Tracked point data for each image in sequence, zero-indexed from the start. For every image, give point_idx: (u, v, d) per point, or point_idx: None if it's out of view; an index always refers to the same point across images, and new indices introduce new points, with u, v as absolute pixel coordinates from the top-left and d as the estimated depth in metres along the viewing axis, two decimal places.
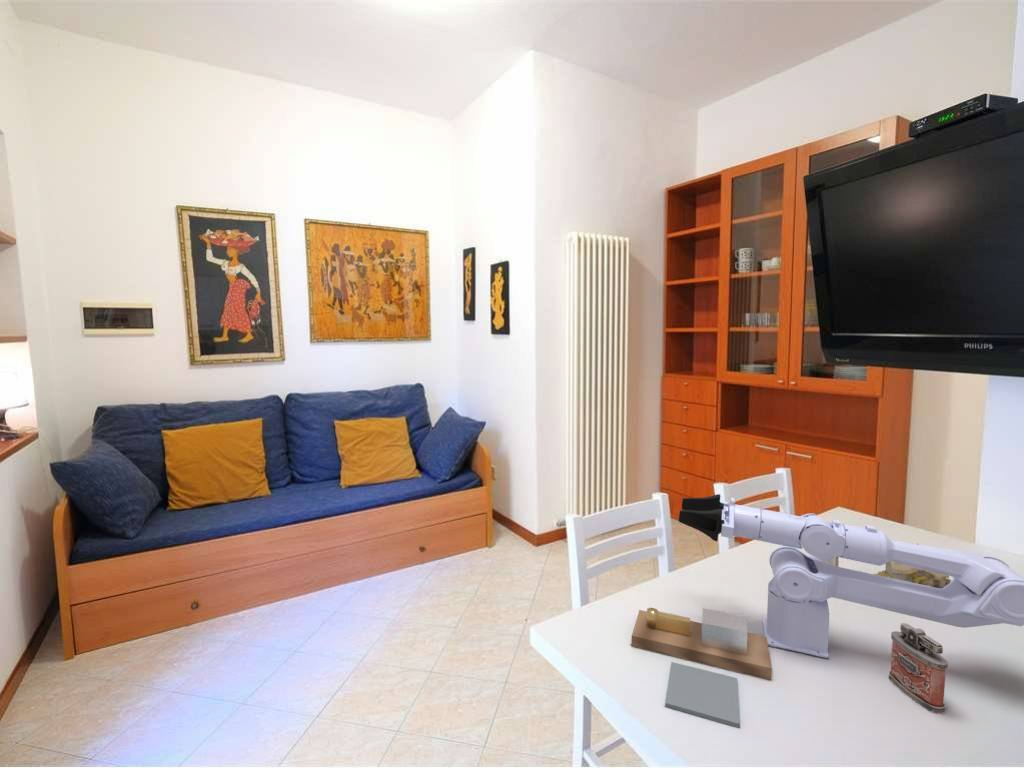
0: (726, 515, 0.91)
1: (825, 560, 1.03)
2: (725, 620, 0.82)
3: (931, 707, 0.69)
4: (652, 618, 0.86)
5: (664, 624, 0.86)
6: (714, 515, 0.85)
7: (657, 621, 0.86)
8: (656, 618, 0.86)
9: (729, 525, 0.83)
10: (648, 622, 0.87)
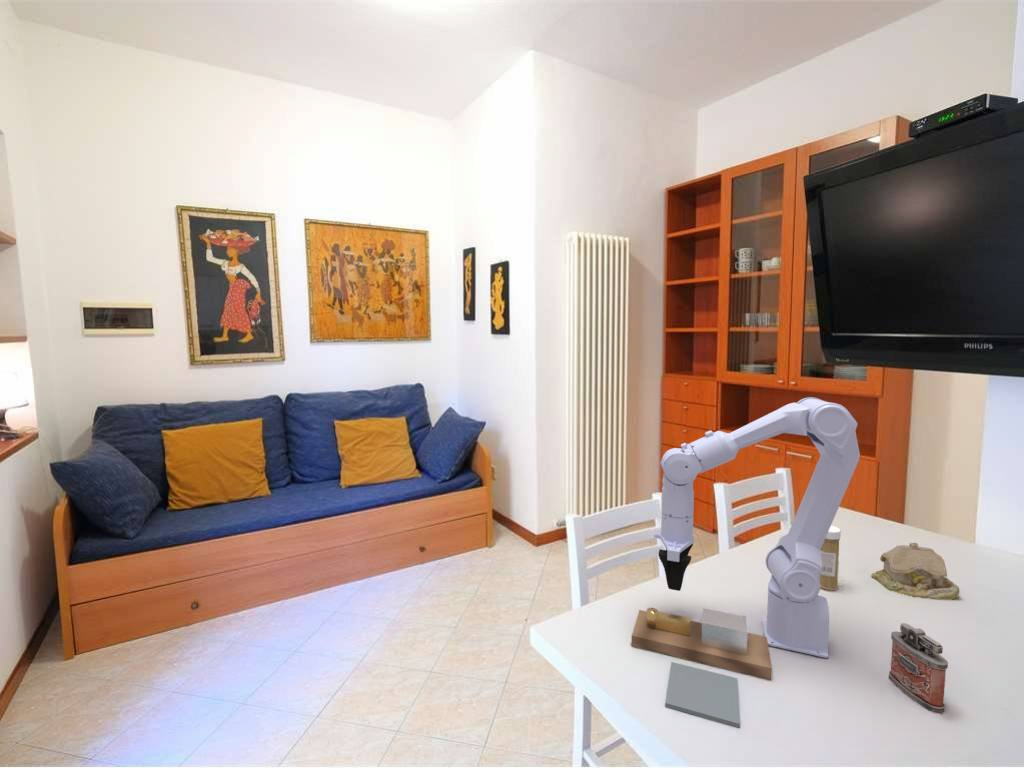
0: None
1: (825, 560, 1.03)
2: (725, 620, 0.82)
3: (931, 707, 0.69)
4: (652, 618, 0.86)
5: (664, 624, 0.86)
6: (662, 560, 0.87)
7: (657, 621, 0.86)
8: (656, 618, 0.86)
9: None
10: (648, 622, 0.87)
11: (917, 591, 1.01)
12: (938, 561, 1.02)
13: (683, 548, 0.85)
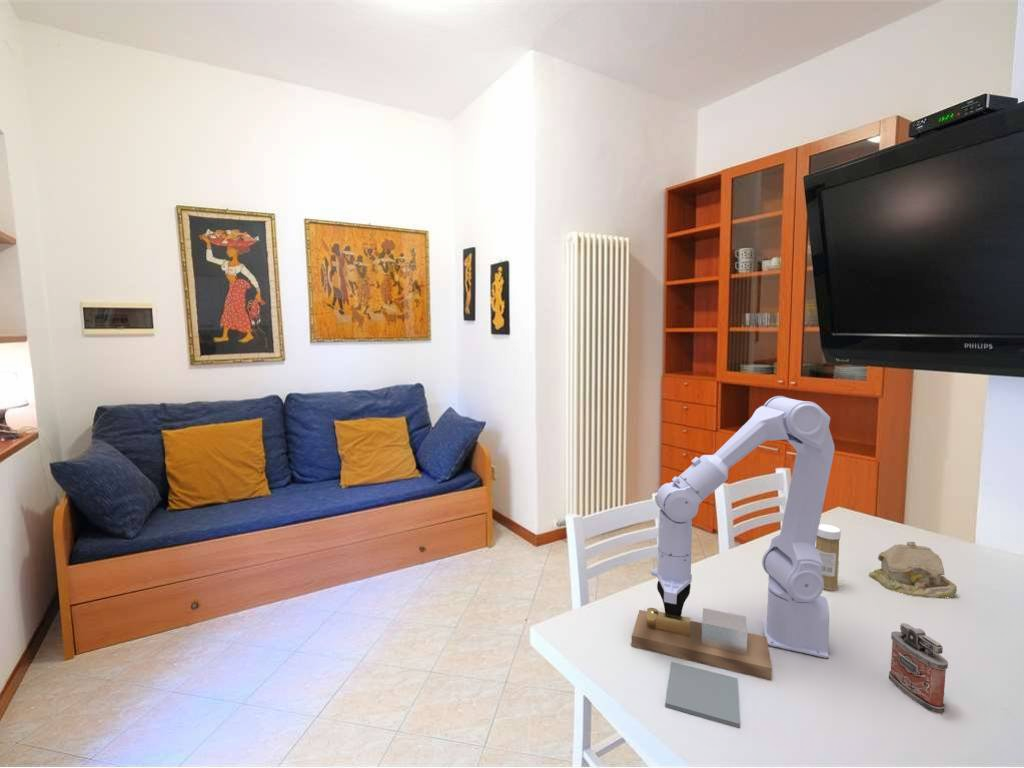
0: None
1: (825, 560, 1.03)
2: (725, 620, 0.82)
3: (931, 707, 0.69)
4: (652, 618, 0.86)
5: (664, 624, 0.86)
6: (661, 593, 0.86)
7: (657, 621, 0.86)
8: (656, 618, 0.86)
9: (664, 593, 0.81)
10: (648, 622, 0.87)
11: (915, 590, 1.01)
12: (935, 560, 1.02)
13: (680, 589, 0.82)
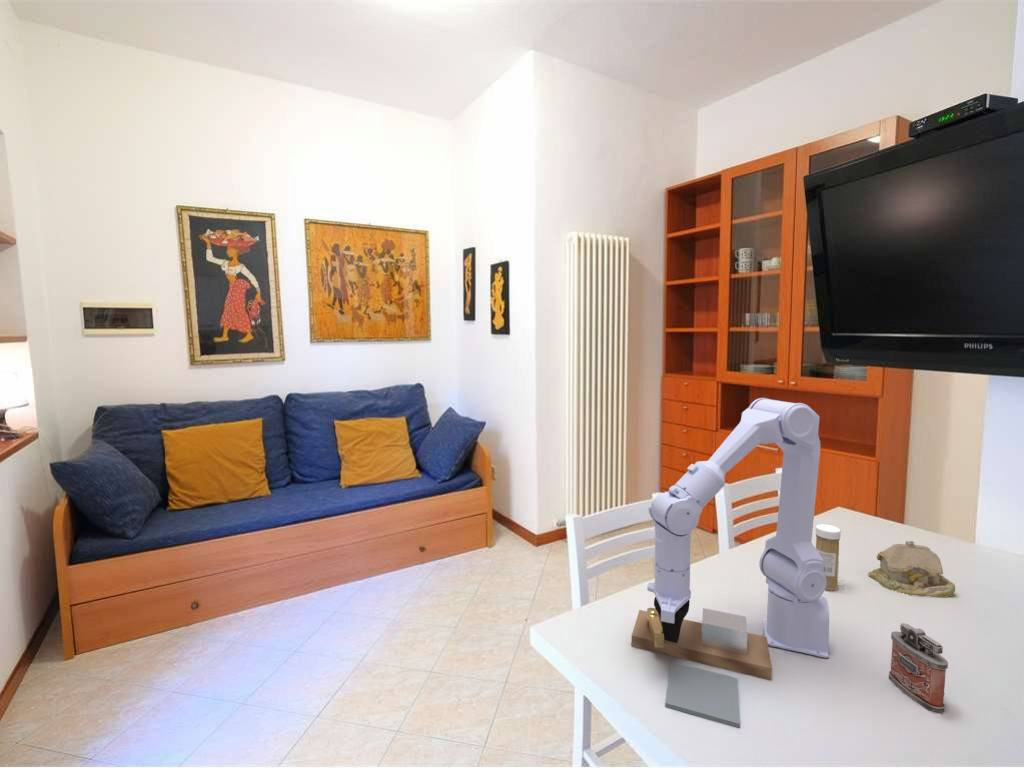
0: None
1: (825, 560, 1.03)
2: (725, 620, 0.82)
3: (931, 707, 0.69)
4: (647, 615, 0.87)
5: (650, 626, 0.85)
6: (658, 610, 0.81)
7: (649, 620, 0.86)
8: (649, 617, 0.86)
9: (661, 611, 0.76)
10: None
11: (914, 589, 1.02)
12: (934, 559, 1.03)
13: (679, 606, 0.76)
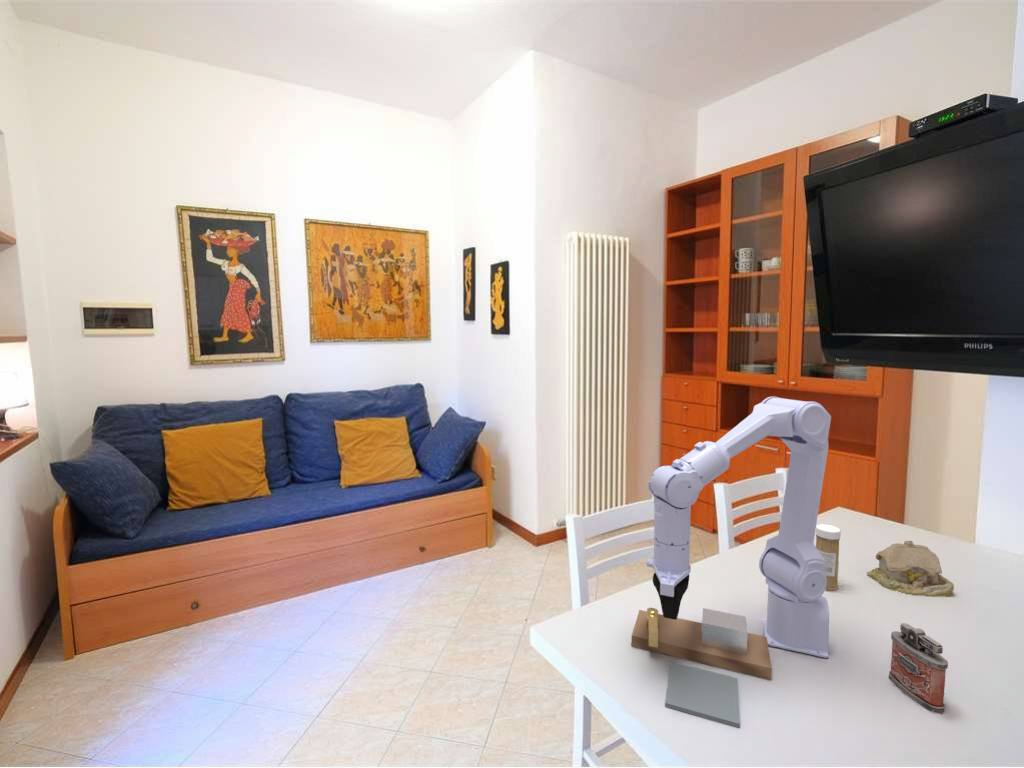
0: None
1: (825, 560, 1.03)
2: (725, 620, 0.82)
3: (931, 707, 0.69)
4: (647, 615, 0.87)
5: (648, 625, 0.85)
6: (657, 586, 0.79)
7: (648, 620, 0.87)
8: (648, 616, 0.87)
9: None
10: None
11: (914, 589, 1.02)
12: (933, 558, 1.03)
13: (678, 580, 0.75)
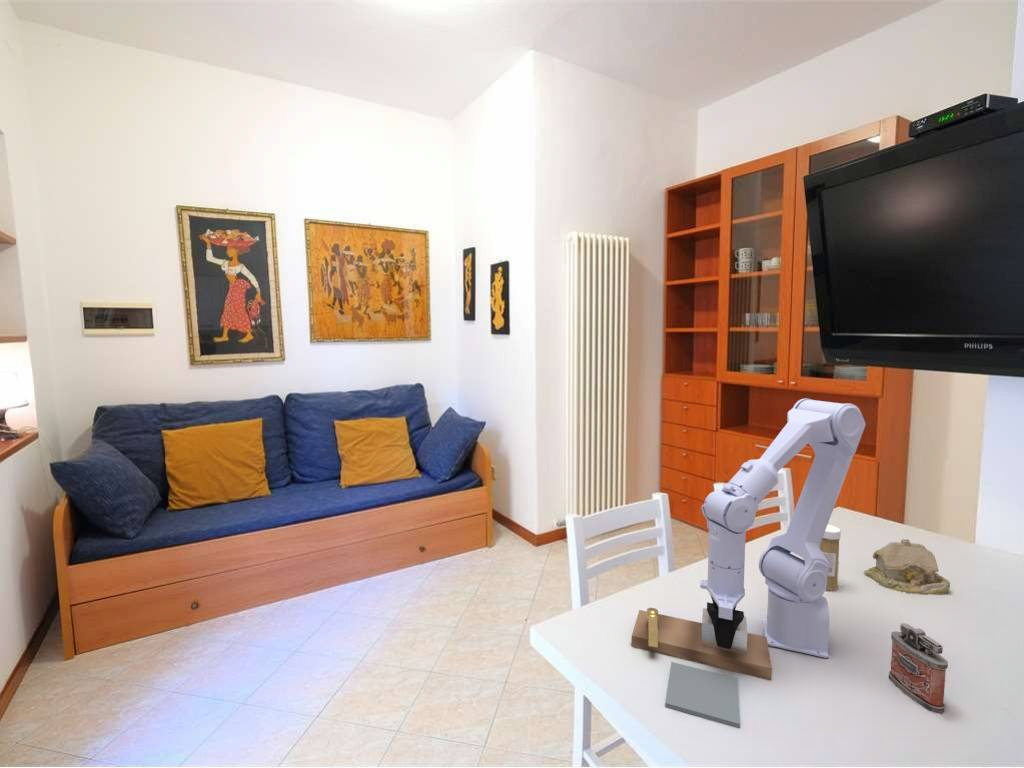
0: None
1: None
2: None
3: (931, 707, 0.69)
4: (647, 615, 0.87)
5: None
6: (711, 616, 0.79)
7: (648, 620, 0.87)
8: (648, 616, 0.87)
9: (718, 608, 0.76)
10: None
11: (911, 587, 1.03)
12: (929, 557, 1.04)
13: (735, 603, 0.77)
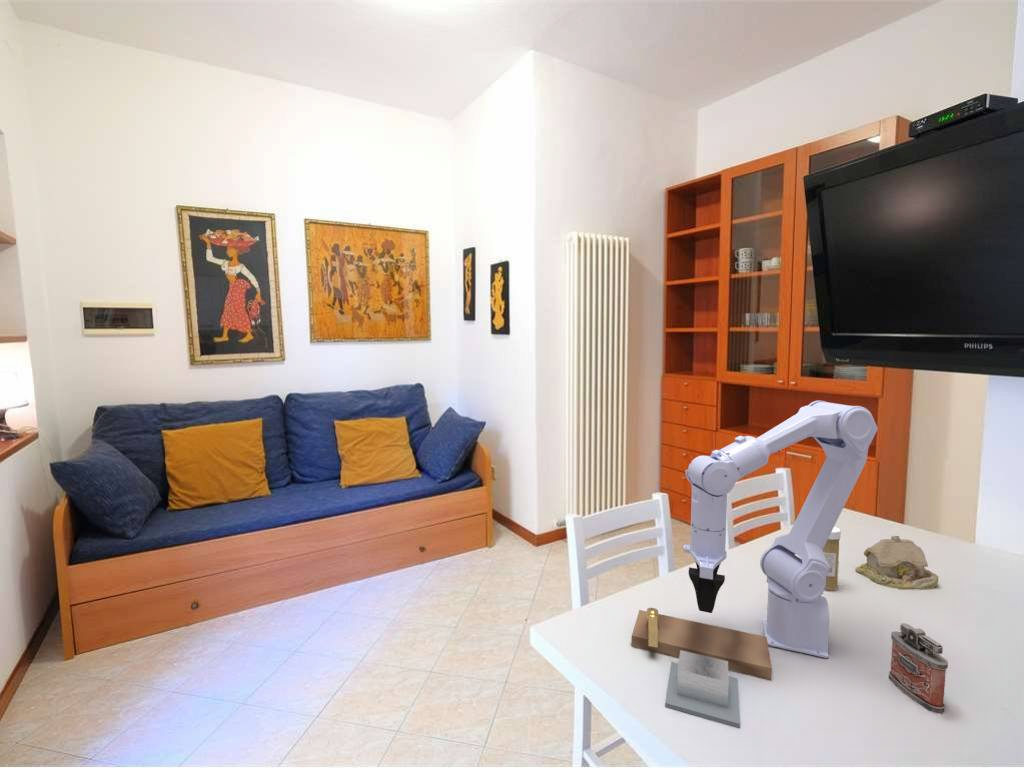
0: None
1: None
2: (704, 666, 0.72)
3: (931, 707, 0.69)
4: (647, 615, 0.87)
5: None
6: (693, 580, 0.79)
7: (648, 620, 0.87)
8: (648, 616, 0.87)
9: (699, 568, 0.78)
10: None
11: (904, 583, 1.04)
12: (918, 552, 1.06)
13: (716, 564, 0.79)
